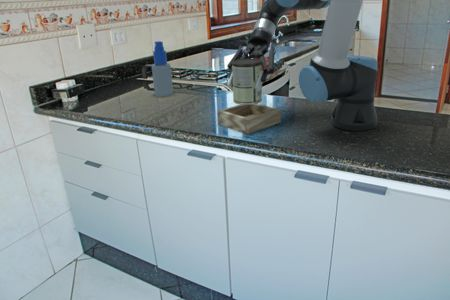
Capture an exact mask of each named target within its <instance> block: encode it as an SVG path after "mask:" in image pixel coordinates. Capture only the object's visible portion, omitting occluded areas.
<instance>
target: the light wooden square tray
mask: <svg viewBox="0 0 450 300" xmlns="http://www.w3.org/2000/svg"><path fill="white" fill-rule="evenodd" d="M278 123H280V124H281V123H282V109H280V108H276V107H271V106H267V105H265V104H260V103H258V104H253V105H240V104H236V105H234V106H231V107H226V108H222V109H219V110H217V124H218V125H220V126H223V127H226V128H229V129H231V130H234V131H237V132H240V133H243V134H246V135H250V134H254V133H256V132H259V130H260V131H261V130H264V129H268V128H271V127H273V125H274V126H276V125H275V124H277V125H279V124H278ZM270 126H271V127H270ZM267 127H268V128H267Z"/></svg>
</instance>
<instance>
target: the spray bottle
mask: <svg viewBox="0 0 450 300" xmlns="http://www.w3.org/2000/svg"><path fill="white" fill-rule="evenodd" d="M152 52H153V53H152V54H153V60H154V63H153V64H151V72H152V79H153V89H154V96H155V97H161V98H162V97H168V96H172V95H174V89H173V88H174V87H173V79H172V68H171V67H172V65H171V63H168V58H167V51H166V50H165V47H164V43H163V41H154V50H153V51H152Z"/></svg>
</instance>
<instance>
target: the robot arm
mask: <svg viewBox="0 0 450 300" xmlns="http://www.w3.org/2000/svg"><path fill="white" fill-rule="evenodd" d="M363 2H364V0H264V1H263V2H262V4H261V7H260V11H259V14H258V16H257V19H256V21H255V24H254V27H253V29H252V32H251V36H250V37H249V42H248V44H247V46H243V45H242V44H240V45H239V46H238V49H237V51H236V53H234V55H233V57H232V58H231V60H230V61H229V63H227V66H226V67H227V68H228V70H229V74H228V82H227V84H226V85H227V86H228V88H229V89H230V90H233V76H232V61H234V60H238V59H253V58H257V59H259V58H260V60H262V67H263V71H260V74H259V77H258V80H257V83H256V86H255V88H256V90H257V91H258V92H260V89H261V86H263V83H265V82H266V80H267V79H266V78H267V75H268V74H270V75H271V74H272V75H273V74H275V55H276V54H277V53H276V52H277V49H276V48H275V46H274V45H272V46H271V44H272V41H273V37H274V35H275V31H276V29H277V26H278V25H279V24H278V23H279V21H280V19H281V18H282V17H284V16H285V15H286V14H287V13H288V12H291V11H293V12H295V11H305V10H307V11H309V10H310V11H311V10H321V9H325V8H327V9H328V10H327V13H326V17H325V19H324V20H325V21H324V24H323V28H322V34H321V37H320V41H319V44H318V50H317V51H316V52H314V53H313V54H311V57H310V62H309V65H304V66H303V67H302V68H301V69H300V71H299V73H298V85H299V88H300V92H301V94H303V96H304V97H305V99H306V100H308V101H309V102H310V103H325V102H328V101H333V100H337V101H336V105H335V106H334V109H333V110H332V111H333V112H332V114H331V118H330V124H331V126H333V127H334V126H335V127H334V128H336V127H337V128H336V129H339V128H340V129H339V130H345V131H353V132H354V131H355V132H358V131H359V132H361V131H370V130H373V129H375V128H376V127H377V126H378V116H377V111H376V107H375V94H376V87H377V78H378V72H379V70H378V60H377V59H376V58H374V57H370V56H364V55H363V56H362V55H351V54H348V53H349V49H350V46H351V43H352V39H353V36H354V33H355V29H356V26H357V22H358V20H359V15H360V12H361V9H362V6H363ZM267 52H269V68H268V69H267V65H266V61H265V57H264V55H265V54H266V53H267Z"/></svg>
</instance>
